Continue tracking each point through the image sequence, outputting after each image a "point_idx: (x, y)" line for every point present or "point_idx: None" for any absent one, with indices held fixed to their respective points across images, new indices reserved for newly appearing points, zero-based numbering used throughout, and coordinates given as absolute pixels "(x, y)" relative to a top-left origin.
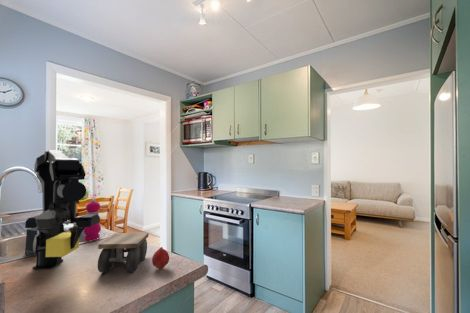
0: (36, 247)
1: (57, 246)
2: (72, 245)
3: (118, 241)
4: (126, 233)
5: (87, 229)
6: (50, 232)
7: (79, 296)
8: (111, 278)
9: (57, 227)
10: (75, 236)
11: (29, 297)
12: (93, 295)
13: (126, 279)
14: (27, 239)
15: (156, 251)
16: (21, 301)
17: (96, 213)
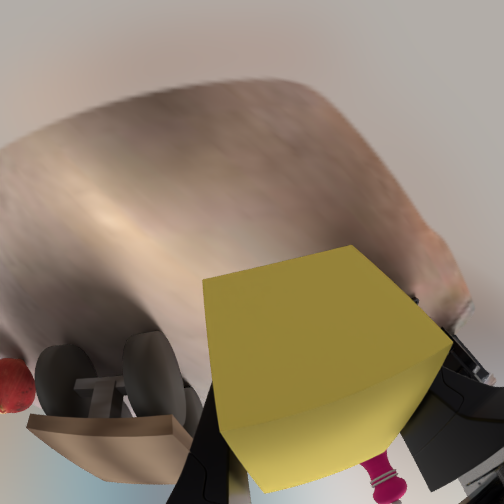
0: (451, 339)
1: (289, 332)
2: (209, 394)
3: (114, 451)
4: (173, 482)
5: None
6: (462, 423)
7: (98, 183)
8: (95, 309)
9: (433, 470)
10: (185, 476)
11: (300, 144)
12: (57, 202)
13: (47, 309)
14: (473, 359)
15: (9, 402)
16: (305, 119)
17: (373, 483)
